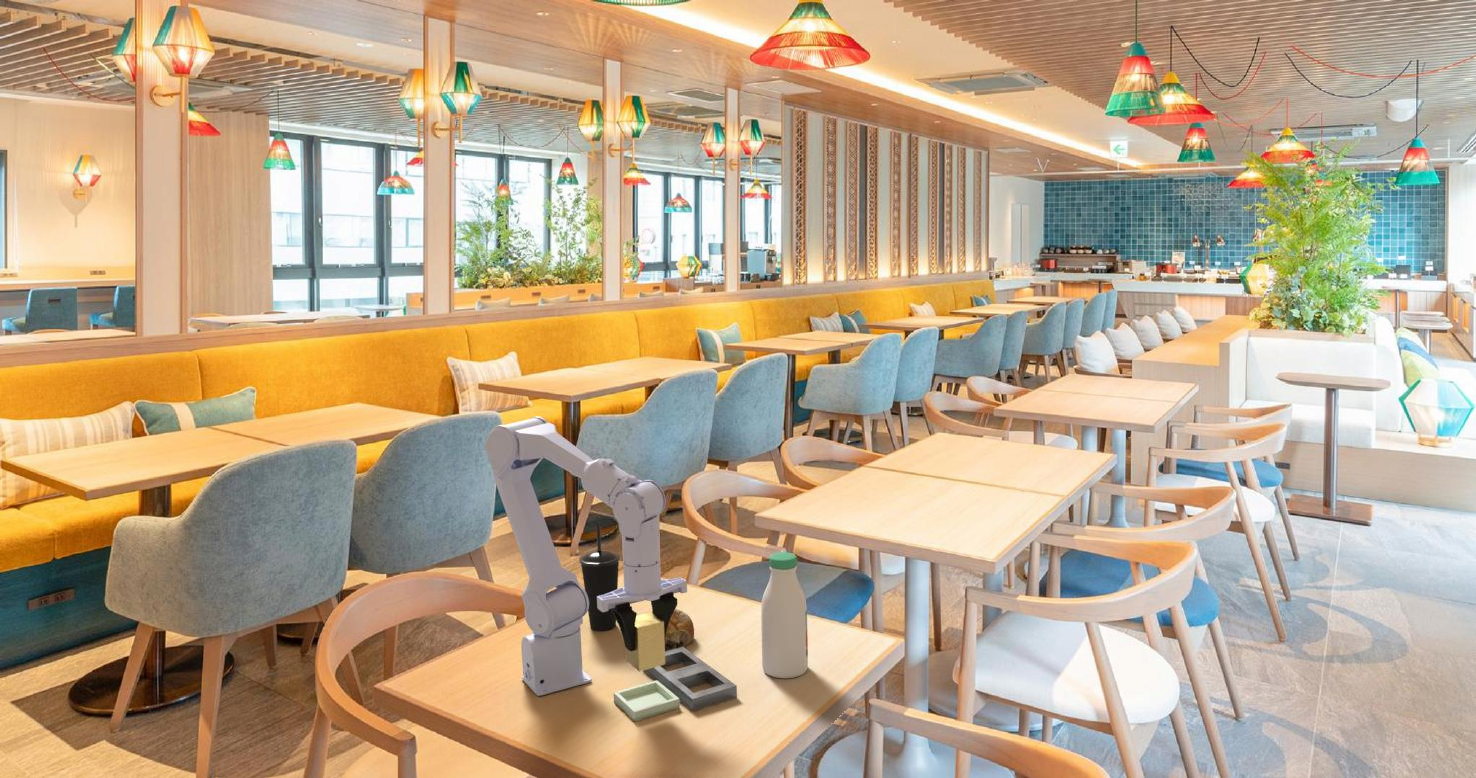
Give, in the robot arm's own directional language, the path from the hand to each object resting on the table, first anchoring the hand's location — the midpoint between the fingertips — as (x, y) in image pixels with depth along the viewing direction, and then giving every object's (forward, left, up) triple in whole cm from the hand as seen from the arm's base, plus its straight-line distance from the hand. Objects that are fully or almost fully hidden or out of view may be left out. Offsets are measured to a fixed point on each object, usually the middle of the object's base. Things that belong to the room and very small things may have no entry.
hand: (644, 644), depth 148 cm
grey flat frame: (+9, +3, -10) cm, 14 cm away
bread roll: (+14, +20, -10) cm, 26 cm away
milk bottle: (+25, -2, -10) cm, 27 cm away
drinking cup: (+7, +33, -10) cm, 35 cm away
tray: (0, 0, -10) cm, 10 cm away
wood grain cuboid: (0, 0, -3) cm, 3 cm away
